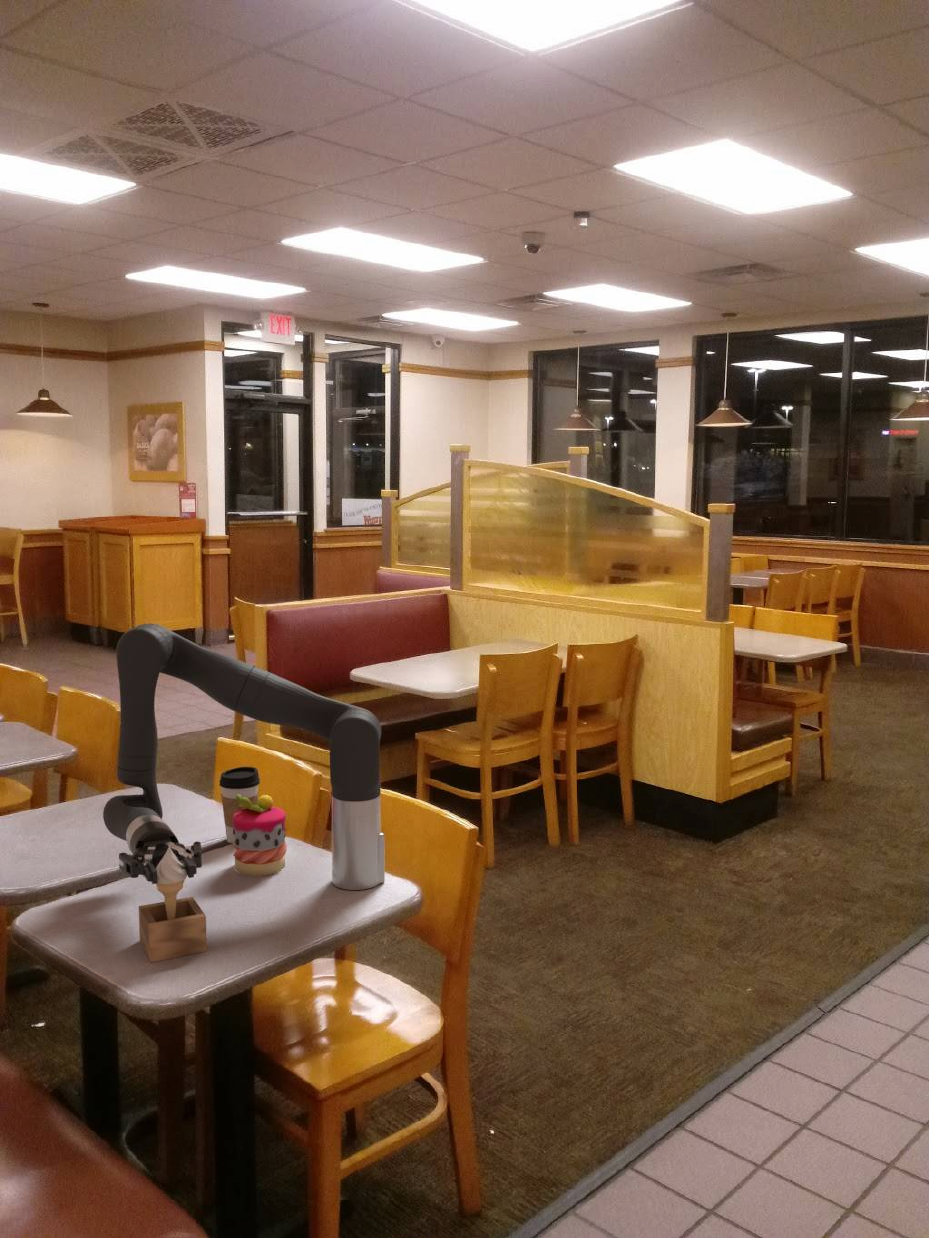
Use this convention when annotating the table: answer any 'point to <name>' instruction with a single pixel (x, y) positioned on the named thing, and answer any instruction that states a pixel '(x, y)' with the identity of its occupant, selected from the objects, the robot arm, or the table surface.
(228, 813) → the coffee cup
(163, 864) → the ice cream cone
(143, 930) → the cone holder
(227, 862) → the table surface
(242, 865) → the cake
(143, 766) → the robot arm
